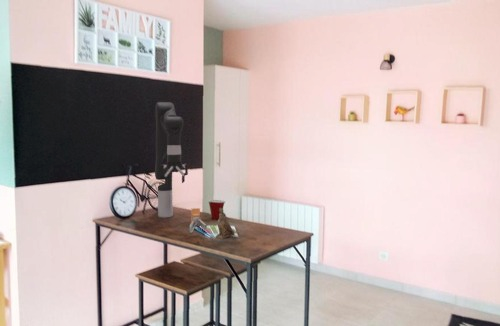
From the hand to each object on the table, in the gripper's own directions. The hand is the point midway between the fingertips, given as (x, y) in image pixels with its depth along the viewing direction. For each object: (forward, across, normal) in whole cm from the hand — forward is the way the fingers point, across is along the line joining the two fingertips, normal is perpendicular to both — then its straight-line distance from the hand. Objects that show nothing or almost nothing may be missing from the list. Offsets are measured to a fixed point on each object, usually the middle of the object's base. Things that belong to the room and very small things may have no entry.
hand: (174, 183), depth 233 cm
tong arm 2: (+28, -15, -7) cm, 32 cm away
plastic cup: (+28, -26, -30) cm, 49 cm away
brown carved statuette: (+28, -26, +11) cm, 40 cm away
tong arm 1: (+28, -10, -7) cm, 30 cm away
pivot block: (+28, -12, -18) cm, 35 cm away
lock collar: (+27, -12, -18) cm, 35 cm away
